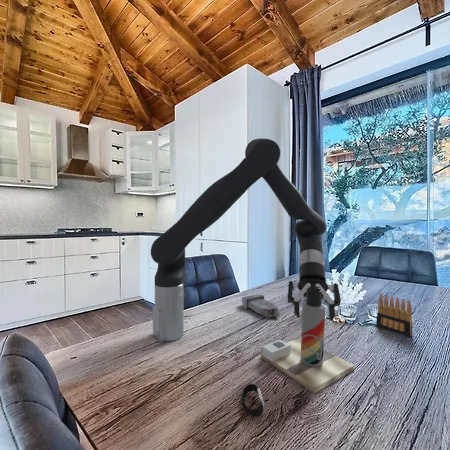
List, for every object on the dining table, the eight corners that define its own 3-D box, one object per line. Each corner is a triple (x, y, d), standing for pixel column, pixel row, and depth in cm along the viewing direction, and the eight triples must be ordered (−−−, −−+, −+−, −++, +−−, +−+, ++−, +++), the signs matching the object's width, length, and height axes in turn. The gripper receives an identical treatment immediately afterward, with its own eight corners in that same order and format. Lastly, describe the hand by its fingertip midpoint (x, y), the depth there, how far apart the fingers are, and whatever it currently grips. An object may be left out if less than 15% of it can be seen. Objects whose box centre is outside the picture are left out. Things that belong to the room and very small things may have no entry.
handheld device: (268, 322, 100) (268, 310, 100) (239, 306, 117) (239, 295, 117) (288, 317, 105) (288, 305, 104) (256, 302, 122) (256, 292, 122)
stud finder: (272, 361, 71) (272, 351, 71) (262, 355, 74) (262, 345, 74) (290, 354, 75) (290, 344, 75) (279, 347, 78) (280, 338, 78)
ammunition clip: (412, 336, 89) (413, 300, 88) (410, 337, 87) (411, 301, 87) (378, 325, 97) (379, 292, 97) (375, 326, 96) (377, 293, 95)
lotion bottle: (312, 369, 67) (315, 291, 66) (296, 358, 72) (298, 285, 71) (327, 363, 70) (330, 288, 69) (311, 353, 75) (313, 282, 74)
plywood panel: (314, 393, 61) (314, 387, 61) (260, 357, 75) (260, 352, 75) (354, 369, 70) (354, 364, 70) (299, 341, 84) (299, 337, 84)
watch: (268, 419, 53) (268, 401, 53) (244, 420, 53) (245, 403, 53) (259, 392, 61) (259, 377, 61) (239, 394, 61) (239, 378, 60)
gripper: (334, 275, 84) (340, 326, 74) (288, 273, 88) (287, 321, 77) (337, 261, 79) (344, 314, 68) (288, 259, 82) (287, 309, 72)
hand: (314, 318), depth 73 cm, fingers open, 8 cm apart
